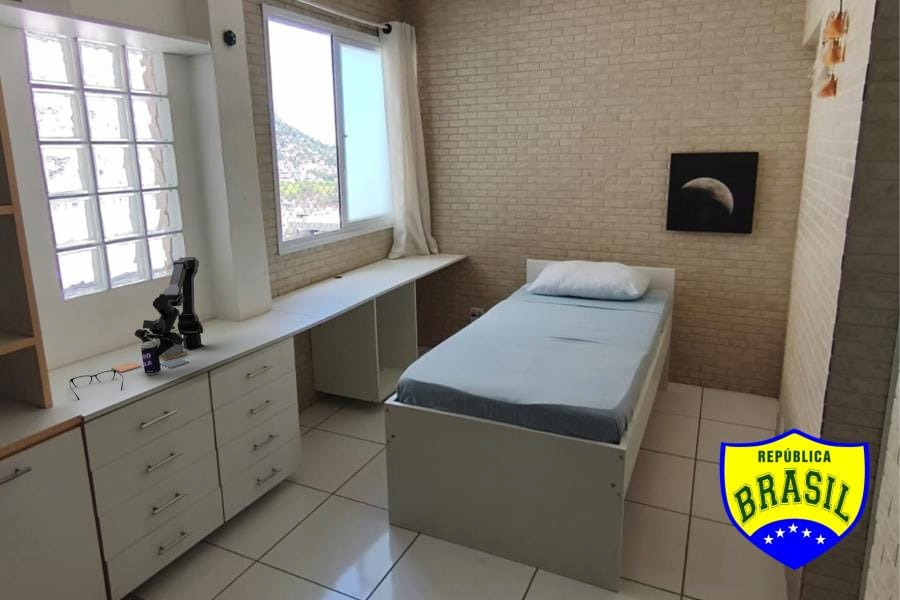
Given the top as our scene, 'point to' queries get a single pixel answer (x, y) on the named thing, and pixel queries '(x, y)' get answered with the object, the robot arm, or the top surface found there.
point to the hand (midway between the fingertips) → (149, 356)
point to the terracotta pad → (126, 367)
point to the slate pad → (174, 363)
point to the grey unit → (172, 351)
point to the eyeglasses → (91, 379)
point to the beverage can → (150, 358)
